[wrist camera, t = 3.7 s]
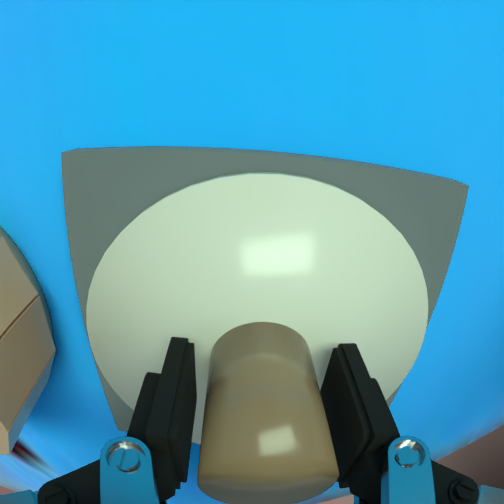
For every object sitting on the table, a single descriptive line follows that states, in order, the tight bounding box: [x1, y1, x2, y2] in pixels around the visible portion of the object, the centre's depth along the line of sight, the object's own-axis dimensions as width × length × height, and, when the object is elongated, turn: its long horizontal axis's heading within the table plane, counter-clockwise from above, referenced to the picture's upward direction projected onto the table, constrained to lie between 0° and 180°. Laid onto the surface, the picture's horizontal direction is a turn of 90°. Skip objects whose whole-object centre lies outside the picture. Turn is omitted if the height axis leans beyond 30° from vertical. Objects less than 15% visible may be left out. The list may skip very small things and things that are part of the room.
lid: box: [86, 171, 428, 504], centre depth 9 cm, size 13×13×6 cm
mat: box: [61, 146, 469, 432], centre depth 12 cm, size 14×14×1 cm
